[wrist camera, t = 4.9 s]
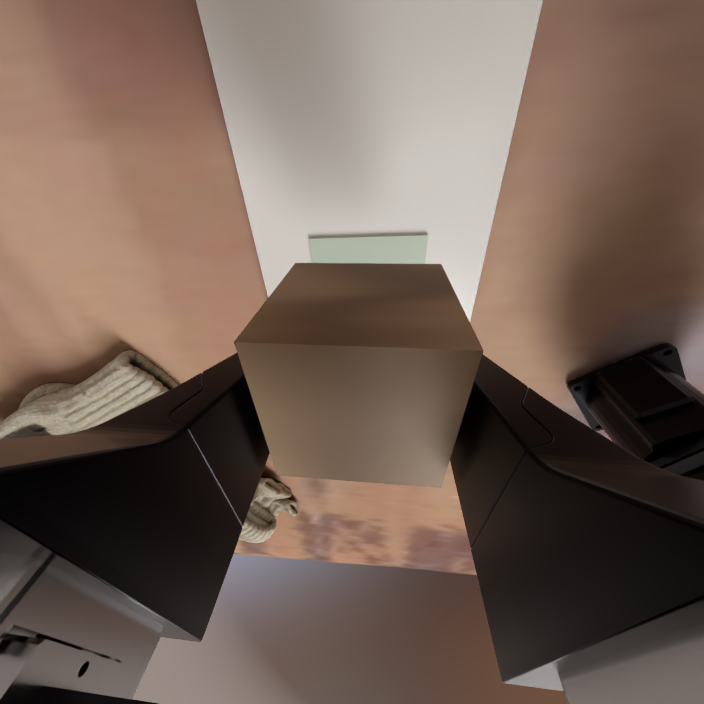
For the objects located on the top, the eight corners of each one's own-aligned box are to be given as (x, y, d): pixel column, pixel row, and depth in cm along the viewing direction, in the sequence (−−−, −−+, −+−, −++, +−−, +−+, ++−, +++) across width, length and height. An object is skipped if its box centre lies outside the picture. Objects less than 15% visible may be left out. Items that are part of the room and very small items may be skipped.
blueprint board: (443, 415, 25) (446, 428, 24) (301, 411, 26) (297, 423, 25) (539, -40, 10) (559, -62, 9) (207, -1, 12) (189, -17, 11)
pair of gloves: (-15, 406, 31) (-78, 448, 27) (146, 337, 23) (94, 380, 19) (181, 526, 46) (161, 564, 42) (317, 508, 39) (309, 552, 35)
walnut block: (441, 263, 8) (483, 350, 5) (422, 376, 11) (441, 487, 8) (295, 262, 9) (233, 341, 5) (310, 372, 12) (276, 475, 8)
